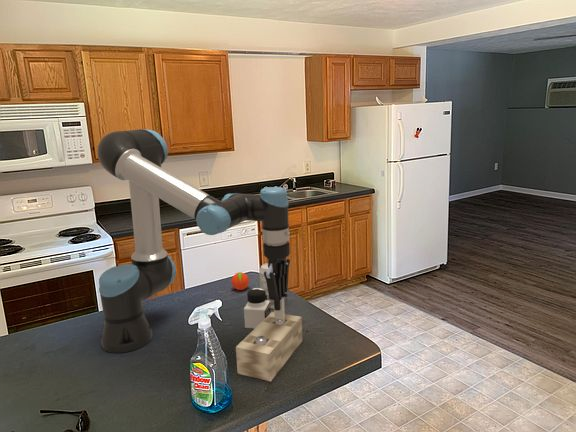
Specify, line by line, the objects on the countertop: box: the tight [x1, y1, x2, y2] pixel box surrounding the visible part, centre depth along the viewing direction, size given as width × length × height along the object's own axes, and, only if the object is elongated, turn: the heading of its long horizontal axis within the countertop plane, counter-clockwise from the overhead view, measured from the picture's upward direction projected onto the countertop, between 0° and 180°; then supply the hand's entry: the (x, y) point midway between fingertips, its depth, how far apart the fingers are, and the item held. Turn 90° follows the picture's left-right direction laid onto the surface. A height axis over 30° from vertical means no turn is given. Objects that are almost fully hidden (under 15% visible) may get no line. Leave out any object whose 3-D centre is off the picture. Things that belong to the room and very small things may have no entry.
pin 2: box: [275, 319, 285, 325], centre depth 128 cm, size 3×3×8 cm
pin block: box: [235, 311, 303, 382], centre depth 123 cm, size 10×22×8 cm, turn 156°
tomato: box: [231, 272, 250, 291], centre depth 171 cm, size 8×7×7 cm
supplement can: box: [258, 262, 274, 310], centre depth 156 cm, size 8×8×15 cm
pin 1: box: [255, 336, 267, 346], centre depth 117 cm, size 3×3×8 cm
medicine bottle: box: [243, 287, 271, 330], centre depth 142 cm, size 7×7×12 cm
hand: (279, 318), depth 127 cm, fingers closed
